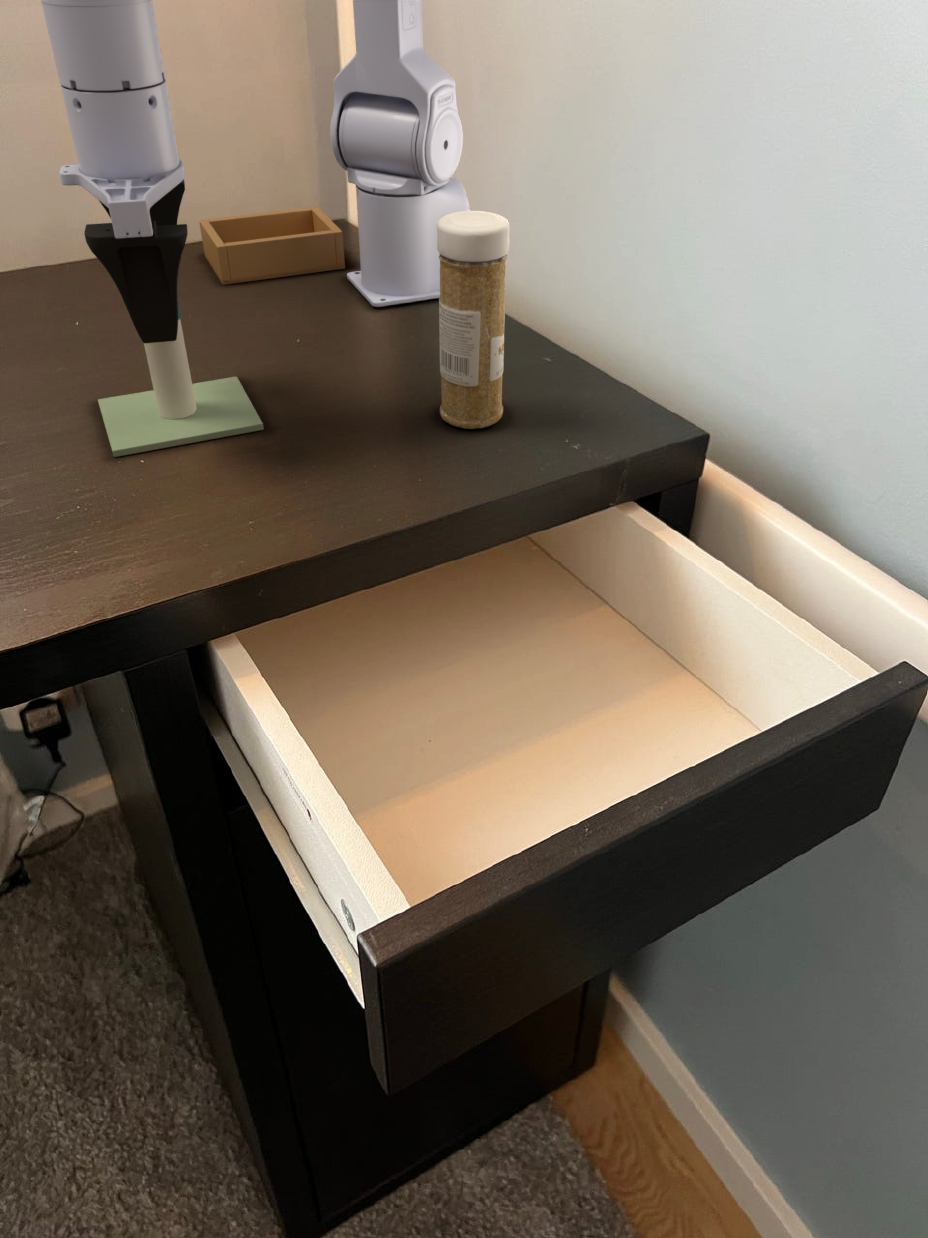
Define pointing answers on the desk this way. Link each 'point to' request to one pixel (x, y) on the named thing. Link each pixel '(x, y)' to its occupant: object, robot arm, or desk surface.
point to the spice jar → (472, 316)
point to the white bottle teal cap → (171, 377)
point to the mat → (145, 430)
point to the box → (272, 245)
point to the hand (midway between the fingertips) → (160, 316)
